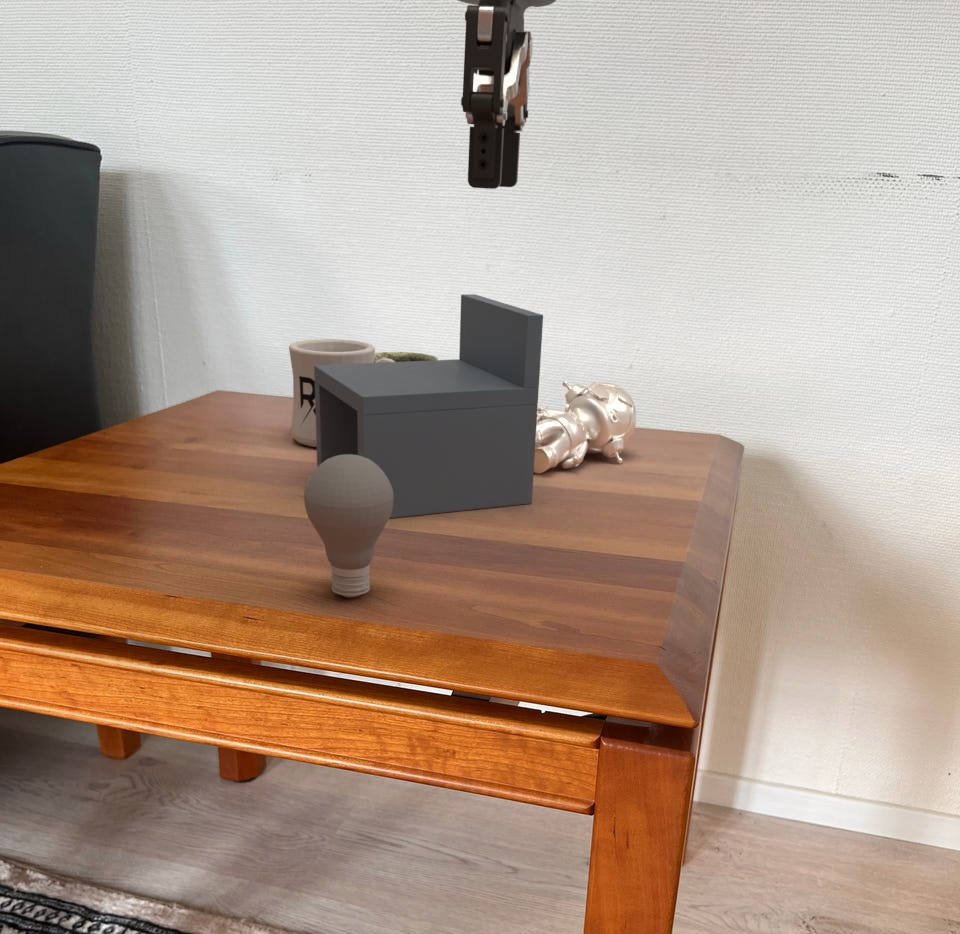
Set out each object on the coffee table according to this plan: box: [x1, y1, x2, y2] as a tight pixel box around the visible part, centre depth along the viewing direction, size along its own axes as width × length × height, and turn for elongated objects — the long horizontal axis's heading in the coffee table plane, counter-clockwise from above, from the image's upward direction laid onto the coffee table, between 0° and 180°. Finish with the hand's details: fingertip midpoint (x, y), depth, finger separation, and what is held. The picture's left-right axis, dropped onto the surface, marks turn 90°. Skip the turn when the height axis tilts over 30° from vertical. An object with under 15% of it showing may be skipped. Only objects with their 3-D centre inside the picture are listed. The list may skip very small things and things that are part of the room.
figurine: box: [534, 380, 638, 475], centre depth 105 cm, size 11×7×15 cm
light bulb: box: [303, 454, 393, 599], centre depth 70 cm, size 6×6×10 cm
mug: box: [288, 338, 395, 448], centre depth 108 cm, size 12×9×10 cm
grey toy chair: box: [314, 293, 544, 519], centre depth 92 cm, size 16×14×16 cm
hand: (493, 187), depth 73 cm, fingers open, 8 cm apart
